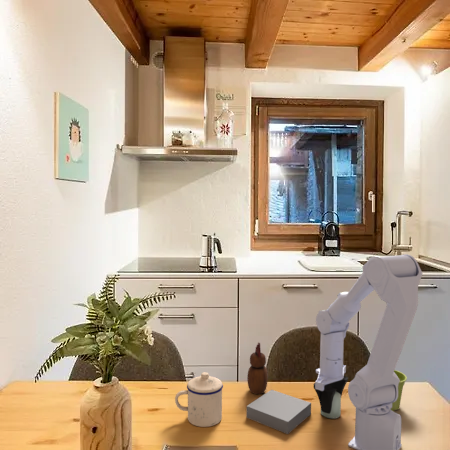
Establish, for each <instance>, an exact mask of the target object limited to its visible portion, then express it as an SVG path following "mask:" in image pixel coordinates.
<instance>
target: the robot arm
mask: <svg viewBox="0 0 450 450" xmlns="http://www.w3.org/2000/svg"><path fill="white" fill-rule="evenodd" d="M422 276H423V272H422V269H421V267H420V264H419V263H418V261H417V260H416V258H415V257H414V256H412V255H411V254H408V253H405V254H399V255H383V256H380V255H373V256H371V257H369V258H368V260H367V261H366V263H364V264H363V265H362V273H361V274H360V275H359V277H358V278H357V280H356V281H355V282H354V284H353V285H352V286H351V288H350V289H349V291H343V292H338V294H337V297H336V299H335V300H334V301H333V302H332V303H331V304H329V306H328V308H327V309H323V310H321V309H320V310H319V311H317V312H318V313H317V315H316V317H315V322H316V328H317V330H318V331H319V332H320V347H319V350H320V351H319V353H320V354H319V357H320V358H319V359H320V360H319V368H316V369H315V373H316V374H318V375H317V379H316V380H315V382H314V383H313V389H314V391H315V393H316V395H317V397H318V401H319V405H320V411H321V410H322V412H325V413H328V414H330V412H331V408H332V401H333V397H334V394H335V392H338V393H340V394H341V397H342V396H343V392H344V389H345V387H346V385H347V383H348V381H349V377H348V376H345V374H346V372H347V365H344V340H345V338H346V336H347V331H348V330H349V327H350V321H351V319H353V318H354V317H355V316H356V315H357V314H358V312H360V310H361V309H362V303H361V302H363V301H364V300H365V299H366V298H367V297H368V296H369V295H370V294H371V293H373V292H374V291H375V292H376V294H377V295H378V297H379V298H380V300H381V301H383V302H385V303H386V307H385V309H384V313H383V316H382V319H381V322H380V324H379V327H378V330H377V333H376V337H375V339H374V342H373V346H372V349H371V351H370V354H369V357H368V361H367V364H365V366H363V367H362V368H361V369H359V371H357V372H356V373H355V376H354V378H353V379H352V380H351V381H350V382H349V383H348V386H347V392H348V393H347V394H348V398H349V400H350V402H351V403H352V406H354V408H355V419H354V420H355V422H354V424H355V425H354V426H355V427H354V429H355V430H354V436H353V438H351V440H350V441H348V447H350V448H353V449H355V450H400V449H401V448H402V416H401V415H400V414H399V413H397V412H395V411H392V410H391V408H392V403H393V402H395V401H396V400H397V398H398V384H399V381H400V380H399V378H398V376H397V375H396V374H395V373H394V370H396V366H397V364H398V363H399V360H400V356H401V353H402V350H403V347H404V345H405V342H406V339H407V336H408V334H409V332H410V330H411V329H410V328H411V327H412V323H413V320H414V317H415V315H416V312H417V310H418V306H419V285H420V282H421V280H422Z"/></svg>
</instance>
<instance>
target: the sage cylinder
mask: <svg viewBox="0 0 450 450" xmlns="http://www.w3.org/2000/svg"><path fill="white" fill-rule="evenodd" d="M341 408H342V396H341V394H340V393H338V392H335V394H334V397H333V401H332V408H331V412H330V414H328V413H325V412H322V410H321V409H320V414H321V415H322V416H323V417H324V418H328V419H338V418H339V417H340V416H341V413H342V410H341Z"/></svg>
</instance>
